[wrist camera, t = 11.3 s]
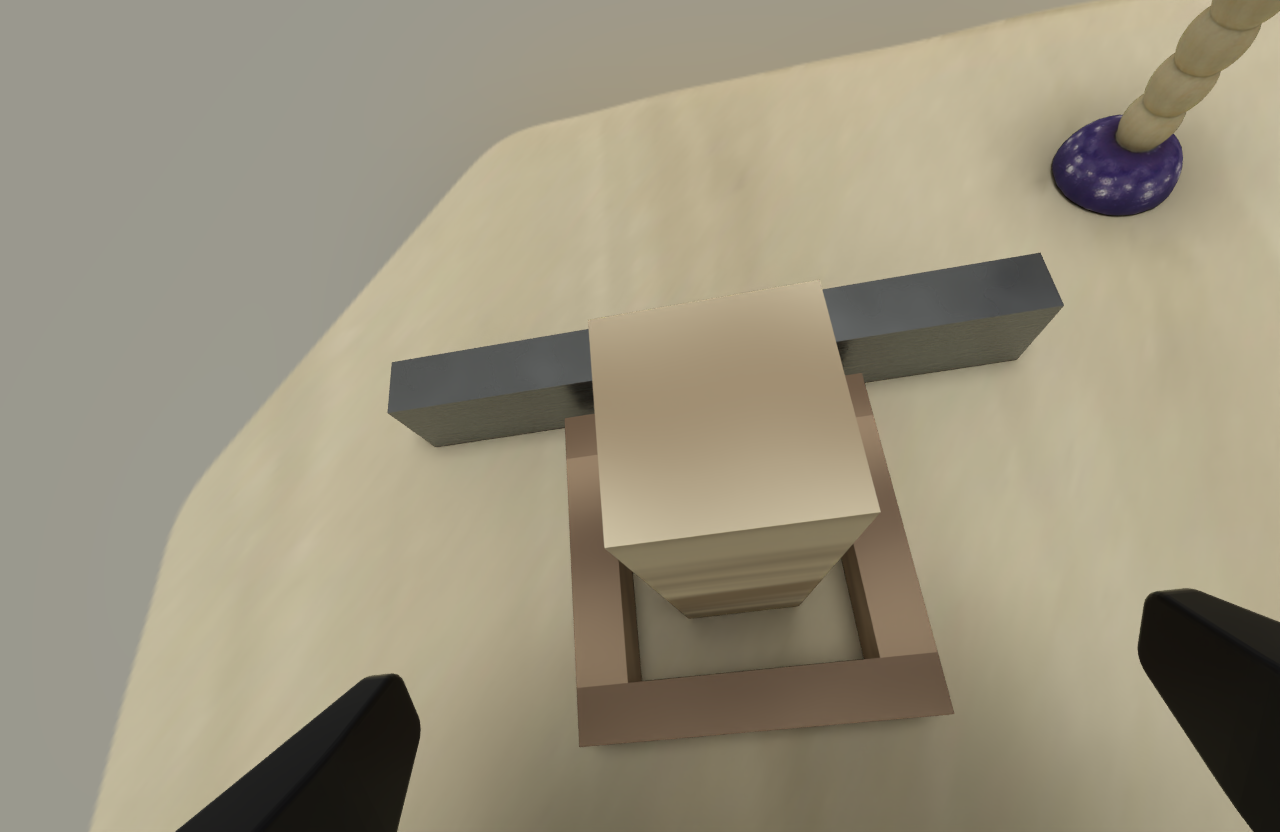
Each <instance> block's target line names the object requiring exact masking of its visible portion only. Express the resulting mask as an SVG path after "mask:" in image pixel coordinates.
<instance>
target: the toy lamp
mask: <svg viewBox="0 0 1280 832" xmlns="http://www.w3.org/2000/svg"><path fill="white" fill-rule="evenodd" d="M1279 11H1280V0H1212V4H1211V6H1210V7H1208V8H1207V9H1205V10H1204V11H1203V12H1202V13H1200V14H1199V15H1198V16H1197V17H1196V18H1195V19H1194V20H1193V21H1192V22H1191V24H1190V25H1189V26H1188V27H1187V29H1186V30H1185V31H1184V33H1183V35H1182V36H1181V38H1180V40H1179V42H1178V44H1177V48H1176V52H1175V53H1174V54H1172V55H1171V56H1170V57H1169V58H1167V59H1166V60H1165V61H1164V62H1163V63H1162V64H1161V65H1160V66H1159V67H1158V68H1157V70H1156V71H1155V72H1154V73H1153V75H1152V76H1151V78H1150V80H1149V82H1148V84H1147V86H1146V88H1145V93H1144V94H1143V95H1141V96H1140V97H1139V98H1137V99H1136V100H1135V101H1134V102H1133V103H1132V104H1131V105H1130V106H1129V107H1128V108H1127V110H1126V111H1125V113H1124V114H1123V115H1115V116H1109V117H1106V118H1102V119H1099V120H1096V121H1094V122H1092V123H1090V124H1088V125H1086V126H1084V127H1082V128H1081V129H1080V130H1078V131H1077V132H1075V133H1074V134H1073V135H1072V136H1071V137H1069V138H1068V139H1067V140H1066V141H1065V142H1064V143H1063V144H1062V146H1061V147H1060V148H1059V149H1058V151H1057V153H1056V155H1055V157H1054V159H1053V165H1052V170H1053V175H1054V178H1055V181H1056V184H1057V186H1058V187H1059V188H1060V189H1061V190H1062V191H1063V193H1064V195H1065V196H1066V197H1067V198H1069V199H1070V200H1071V201H1073V202H1074V203H1076V204H1078V205H1079V206H1082V207H1084V208H1085V209H1088V210H1092V211H1095V212H1098V213H1102V214H1106V215H1132V214H1136V213H1140V212H1143V211H1146V210H1149V209H1152V208H1154V207H1156V206H1157V205H1159V204H1160V203H1162V202H1163V201H1164V200H1165V199H1166V198H1167V197H1168V196H1169V195H1170V193H1171V192H1172V190H1173V188H1174V187H1175V185H1176V183H1177V181H1178V178H1179V176H1180V173H1181V170H1182V164H1183V163H1182V161H1183V153H1182V147H1181V145H1180V143H1179V140H1178V139H1177V137H1176V136H1175V135H1174V132H1175V131H1176V130H1177V128H1178V127H1179V126H1180V124H1181V123H1182V121H1183V119H1184V117H1185V114H1186V111H1188V110H1190V109H1191V108H1193V107H1194V106H1195V105H1197V104H1198V103H1199V102H1200V101H1201V100H1202V99H1203V98H1204V97H1205V96H1207V94H1208V93H1209V92H1210V91H1211V90H1212V88H1213V87H1214V85H1215V84H1216V82H1217V80H1218V78H1219V76H1220V72H1221V71H1222V70H1224V69H1226V68H1227V67H1228V66H1230V65H1231V64H1233V63H1234V62H1235V61H1236V60H1238V59H1239V58H1240V57H1241V56H1242V55H1243V54H1244V53H1245V52H1246V50H1247V49H1248V48H1249V47H1250V46H1251V44H1252V43H1253V41H1254V40H1255V38H1256V36H1257V34H1258V32H1259V30H1260V27H1261V24H1262V23H1263V22H1265V21H1267V20H1268V19H1270V18H1271V17H1273V16H1274V15H1275V14H1276V13H1278V12H1279Z"/></svg>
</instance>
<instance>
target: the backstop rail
mask: <svg viewBox="0 0 1280 832" xmlns="http://www.w3.org/2000/svg"><path fill="white" fill-rule="evenodd" d="M823 294H824V298H825V302H826V305H827V309H828V313H829V317H830V321H831V324H832V328H833V332H834V336H835V340H836V343H837V347H838V351H839V355H840V359H841V363H842V366H843V370H844V374H845V375H852V374H858V373H862V375H863V379H864V382H871V381H877V380H884V379H891V378H897V377H904V376H910V375H917V374H924V373H930V372H937V371H944V370H950V369H957V368H964V367H970V366H977V365H984V364H990V363H997V362H1003V361H1010V360H1017V359H1018V358H1019V356H1020V355H1021V354H1022V353H1023V352H1024V351H1025V350H1026V348H1027V347H1028V346H1029V345H1030V344H1031V343H1032V342H1033V340H1034V339H1035V338H1036V337H1037V336H1038V335H1039V334H1040V332H1041V331H1042V330H1043V329H1044V328H1045V327H1046V326H1047V324H1048V323H1049V322H1050V321H1051V320H1052V319H1053V318H1054V316H1055V315H1056V314H1057V313H1058V312H1059V311H1060V310H1061V308H1062V307H1063V306H1064V304H1063V302H1062V300H1061V298H1060V295H1059V293H1058V291H1057V289H1056V287H1055V284H1054V282H1053V280H1052V278H1051V275H1050V273H1049V271H1048V269H1047V266H1046V264H1045V262H1044V260H1043V257H1042V255H1041V253H1036V254H1030V255H1024V256H1018V257H1012V258H1006V259H1001V260H995V261H989V262H983V263H977V264H971V265H965V266H959V267H953V268H947V269H941V270H935V271H930V272H924V273H918V274H912V275H906V276H900V277H894V278H888V279H882V280H876V281H870V282H864V283H859V284H853V285H847V286H841V287H835V288H829V289H823ZM388 414H390V415H391V416H392V417H394V418H395V419H397V420H398V421H400V422H401V423H402V424H404V425H405V426H407V427H408V428H409V429H411V430H412V431H414V432H415V433H416V434H418V435H419V436H421V437H422V438H423V439H425V440H426V441H428V442H429V443H431V444H432V445H433V446H435V447H439V446H446V445H452V444H459V443H466V442H472V441H479V440H485V439H492V438H499V437H505V436H512V435H519V434H525V433H532V432H539V431H545V430H552V429H558V428H565V418H569V417H576V416H582V415H589V414H595V410H594V396H593V382H592V368H591V354H590V341H589V329H586V330H580V331H574V332H569V333H563V334H557V335H551V336H545V337H539V338H533V339H527V340H521V341H515V342H509V343H503V344H497V345H492V346H486V347H480V348H474V349H468V350H462V351H456V352H450V353H444V354H438V355H432V356H426V357H421V358H415V359H409V360H403V361H397V362H392V367H391V379H390V391H389V403H388Z"/></svg>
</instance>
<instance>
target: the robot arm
mask: <svg viewBox="0 0 1280 832" xmlns="http://www.w3.org/2000/svg"><path fill="white" fill-rule="evenodd" d="M1138 656H1139V659H1140V662H1141V665H1142V667H1143V669H1144V671H1145V672H1146V674H1147V676H1148V677H1149V679H1150V680H1151V682H1152V683H1153V685H1154V686H1155V688H1156V689H1157V691H1158V692H1159V694H1160V695H1161V697H1162V698H1163V700H1164V701H1165V703H1166V704H1167V706H1168V708H1169V709H1170V711H1171V712H1172V714H1173V715H1174V717H1175V718H1176V720H1177V721H1178V723H1179V724H1180V726H1181V727H1182V729H1183V730H1184V732H1185V733H1186V735H1187V736H1188V738H1189V739H1190V741H1191V742H1192V744H1193V745H1194V747H1195V748H1196V750H1197V752H1198V753H1199V755H1200V756H1201V758H1202V759H1203V761H1204V762H1205V764H1206V765H1207V767H1208V768H1209V770H1210V771H1211V773H1212V774H1213V776H1214V777H1215V779H1216V780H1217V782H1218V783H1219V785H1220V786H1221V788H1222V789H1223V791H1224V792H1225V794H1226V795H1227V796H1228V798H1229V799H1230V801H1231V802H1232V804H1233V805H1234V806H1235V808H1236V809H1237V811H1238V812H1239V813H1240V815H1241V816H1242V817H1243V819H1244V820H1245V821H1246V823H1247V824H1248V825H1249V827H1250V828H1251V829H1252V830H1253V832H1280V622H1278V621H1275V620H1273V619H1270V618H1268V617H1265V616H1263V615H1260V614H1257V613H1255V612H1252V611H1250V610H1247V609H1245V608H1242V607H1240V606H1237V605H1234V604H1232V603H1229V602H1227V601H1224V600H1222V599H1219V598H1217V597H1214V596H1211V595H1209V594H1206V593H1204V592H1201V591H1198V590H1195V589H1188V588H1183V589H1174V590H1164V591H1156V592H1153V593H1151V594H1149V595H1148V596H1147V598H1146V599H1145V602H1144V607H1143V614H1142V620H1141V627H1140V634H1139V640H1138ZM420 732H421V729H420V720H419V716H418V714H417V712H416V709H415V707H414V705H413V702H412V700H411V698H410V695H409V693H408V690H407V688H406V686H405V683H404V681H403V679H402V678H401V677H400V676H399V675H397V674H382V675H373V676H369V677H366V678H364V679H362V680H361V681H360V682H358V683H357V684H356V685H355V686H354V687H352V688H351V689H350V690H349V691H347V692H346V693H345V694H344V695H343V696H341V697H340V698H339V699H338V700H336V701H335V702H334V703H333V704H331V705H330V706H329V707H328V708H327V709H325V710H324V711H323V712H322V713H320V714H319V715H318V716H317V717H316V718H314V719H313V720H312V721H311V722H309V723H308V724H307V725H306V726H304V727H303V728H302V729H301V730H300V731H298V732H297V733H296V734H295V735H293V736H292V737H291V738H290V739H288V740H287V741H286V742H285V743H284V744H282V745H281V746H280V747H279V748H277V749H276V750H275V751H274V752H273V753H271V754H270V755H269V756H268V757H266V758H265V759H264V760H263V761H261V762H260V763H259V764H258V765H257V766H255V767H254V768H253V769H252V770H250V771H249V772H248V773H247V774H245V775H244V776H243V777H242V778H241V779H239V780H238V781H237V782H236V783H234V784H233V785H232V786H231V787H230V788H228V789H227V790H226V791H225V792H223V793H222V794H221V795H220V796H218V797H217V798H216V799H215V800H214V801H212V802H211V803H210V804H209V805H207V806H206V807H205V808H204V809H202V810H201V811H200V812H199V813H198V814H196V815H195V816H194V817H193V818H191V819H190V820H189V821H188V822H186V823H185V824H184V825H183V826H182V827H180V828H179V829H178V830H177V831H175V832H397V830H398V826H399V821H400V817H401V813H402V809H403V805H404V801H405V797H406V793H407V789H408V785H409V781H410V777H411V773H412V769H413V764H414V760H415V756H416V752H417V748H418V744H419V740H420Z"/></svg>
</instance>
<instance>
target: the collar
mask: <svg viewBox="0 0 1280 832" xmlns="http://www.w3.org/2000/svg"><path fill="white" fill-rule="evenodd" d="M845 378H846V382H847V385H848V389H849V393H850V397H851V401H852V404H853V408H854V412H855V416H856V420H857V424H858V427H859V431H860V435H861V439H862V443H863V446H864V450H865V454H866V458H867V462H868V465H869V469H870V473H871V477H872V481H873V485H874V488H875V492H876V496H877V500H878V504H879V507H880V511H881V512H880V513H879V515H878V516H877V517H876V518H875V519H874V520H873V522H872V523H871V524H870V525H869V526H868V527H867V528H866V530H865V531H864V532H863V533H862V534H861V535H860V536H859V538H858V539H857V540H856V541H855V542H854V543H853V544H852V546H851V547H850V548H849V549H848V550H847V551H846V552H845V554H844V555H843V556H842V557H841V559H842V564H843V568H844V572H845V577H846V581H847V586H848V590H849V595H850V599H851V604H852V608H853V613H854V617H855V622H856V626H857V630H858V635H859V639H860V644H861V648H862V653H863V657H864V659H859V660H849V661H839V662H829V663H819V664H809V665H799V666H789V667H779V668H769V669H759V670H749V671H739V672H729V673H719V674H709V675H699V676H688V677H678V678H668V679H658V680H648V681H642V678H641V666H640V654H639V642H638V631H637V619H636V607H635V595H634V584H633V572H632V571H631V570H630V569H629V568H628V567H627V566H625V565H624V564H623V563H622V562H621V561H619V560H618V559H617V558H616V557H615V556H613V555H612V554H611V553H610V552H609V551H607V550H606V549H605V548H604V535H603V521H602V507H601V493H600V480H599V466H598V452H597V438H596V424H595V414H589V415H582V416H576V417H569V418H565V438H566V460H567V483H568V505H569V527H570V550H571V572H572V594H573V616H574V639H575V661H576V683H577V705H578V728H579V747H586V746H598V745H609V744H620V743H632V742H643V741H654V740H666V739H677V738H688V737H700V736H711V735H722V734H734V733H745V732H756V731H768V730H779V729H791V728H802V727H813V726H825V725H836V724H847V723H859V722H870V721H881V720H893V719H904V718H915V717H927V716H938V715H949V714H954V711H953V707H952V703H951V699H950V696H949V692H948V688H947V685H946V681H945V677H944V674H943V670H942V666H941V663H940V659H939V655H938V652H937V648H936V644H935V641H934V637H933V633H932V629H931V626H930V622H929V618H928V615H927V611H926V607H925V604H924V600H923V596H922V593H921V589H920V585H919V582H918V578H917V574H916V570H915V567H914V563H913V559H912V556H911V552H910V548H909V545H908V541H907V537H906V534H905V530H904V526H903V523H902V519H901V515H900V512H899V508H898V504H897V500H896V497H895V493H894V489H893V486H892V482H891V478H890V475H889V471H888V467H887V464H886V460H885V456H884V453H883V449H882V445H881V442H880V438H879V434H878V430H877V427H876V423H875V419H874V416H873V412H872V408H871V405H870V401H869V397H868V394H867V390H866V386H865V383H864V379H863V375H862V373H858V374H852V375H845Z"/></svg>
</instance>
